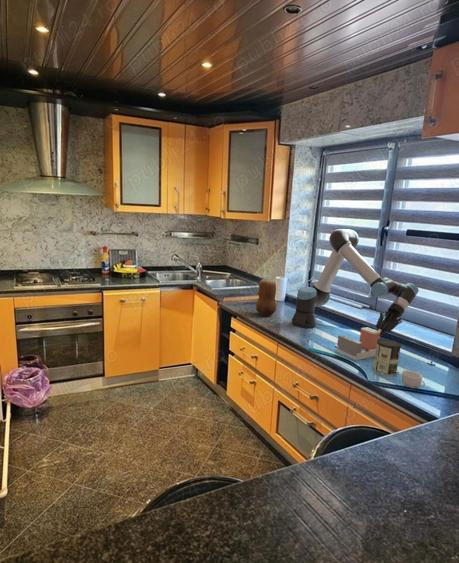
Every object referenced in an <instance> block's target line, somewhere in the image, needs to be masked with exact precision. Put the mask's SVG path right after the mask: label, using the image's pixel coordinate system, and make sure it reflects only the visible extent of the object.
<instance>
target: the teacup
mask: <svg viewBox="0 0 459 563" xmlns="http://www.w3.org/2000/svg"><path fill="white" fill-rule="evenodd" d="M422 379H423V375H422V374H421V373H419V372H417V371H413V370H408V369H406V370H402V372H401V382H402V384H403V385H404V386H405V387H406V386H407V387H406V388H409V387H410V388H409V389H417V388H423V387H425V386H426V383H425V381H424V380H422ZM422 384H423V385H422Z"/></svg>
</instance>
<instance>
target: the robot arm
mask: <svg viewBox="0 0 459 563" xmlns="http://www.w3.org/2000/svg"><path fill="white" fill-rule="evenodd" d="M328 239H329V244H330V246H331V248H332V251H331V253H330V256H329V257H328V260H327V261H326V264H325V266H324V267H323V269H322V272H321V274H320V276H319V278H318V280H317V282H314V283H313V285H312V287H311V286H306V287H305V286H304V287H301V288H299V289H298V290H297V294H296V304H295V312H294V314H293V317H292V318H291V324H292V325H293V326H295V327H298V328H305V329H311V328H316V324H317V322H316V317H315V308H316V307H321V306H324V305H326V304H328V302H329V301H330V299H331V290H332V289H331V286H332V285H333V282H334V280H335V278H336V275H337V274H338V272H339V270H340V268H341V266H342V264H343V262H344V261H345V260H346V262H347V263H348V264H349V265H350V266H351V267H352V268H353V269H354V270H355V271H356V273H357V274H358V275H360V277H361V278H362V280H364V281H365V282H366V284H367V285H368V286H369V287H370V289H371V292H372V294H373V295H374V296H376V297H385V296H386V295H387V296H388V295H392V296H394V297H396V298H395V299H394V300H393V302H392V303H391V304H390V306H389V307H388V309H387V310H386V311H385V312H380V313H379V317H378V320H377V322H376V324H375V328H376V330H377V331H380V336H379V339H381V337H383V336H384V334H386V333H387V334H388V333H391V331H392V330H394V329H395V328H396V327H397V326H398V325H400V324H402V323H403V320H402V319H401V317H402V316H403V314H404V313H405V311H406V310H407V309H408V307H409V306H410V305H411V303H412V302H413V301H414V299H415V298H416V296H417V294H418V293H419V292H420V291H419V287H418V286H417V285H415V284H414V283H410V282H408V283H406V284H402V283H400V282H398V281H395V280H392V279H391V278H388V277H383V278H382V277H381V275H379V274H378V272H377V271H376V270H375V269H374V268H373V266H371V264H369V263H368V262H367V260H366V259H364V257H363V256H362V255H360V253H359V252H358V251H357V250H356V249H355V247H357V246H358V245H359V241H360V238H359V234H358V233H357V232H356V231H355V230H353V229H350V228H346V229H345V228H337V229H335V230H333V231H332V232H331V233H330V235H329V238H328Z"/></svg>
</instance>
